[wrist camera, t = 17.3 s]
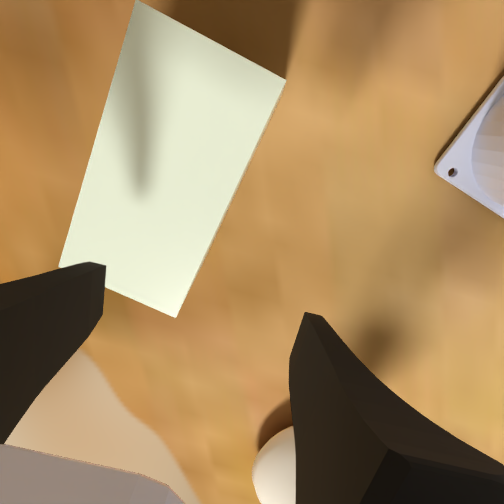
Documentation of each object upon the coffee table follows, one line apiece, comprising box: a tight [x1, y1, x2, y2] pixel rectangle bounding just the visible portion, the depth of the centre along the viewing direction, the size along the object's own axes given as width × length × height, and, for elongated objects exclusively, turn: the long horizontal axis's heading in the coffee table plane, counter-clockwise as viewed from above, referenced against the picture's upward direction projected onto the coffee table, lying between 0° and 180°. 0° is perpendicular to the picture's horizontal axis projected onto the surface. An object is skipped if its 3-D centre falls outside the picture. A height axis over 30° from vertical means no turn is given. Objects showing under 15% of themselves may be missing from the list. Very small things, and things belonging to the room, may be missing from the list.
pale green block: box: [58, 0, 286, 318], centre depth 17 cm, size 6×12×7 cm, turn 154°
